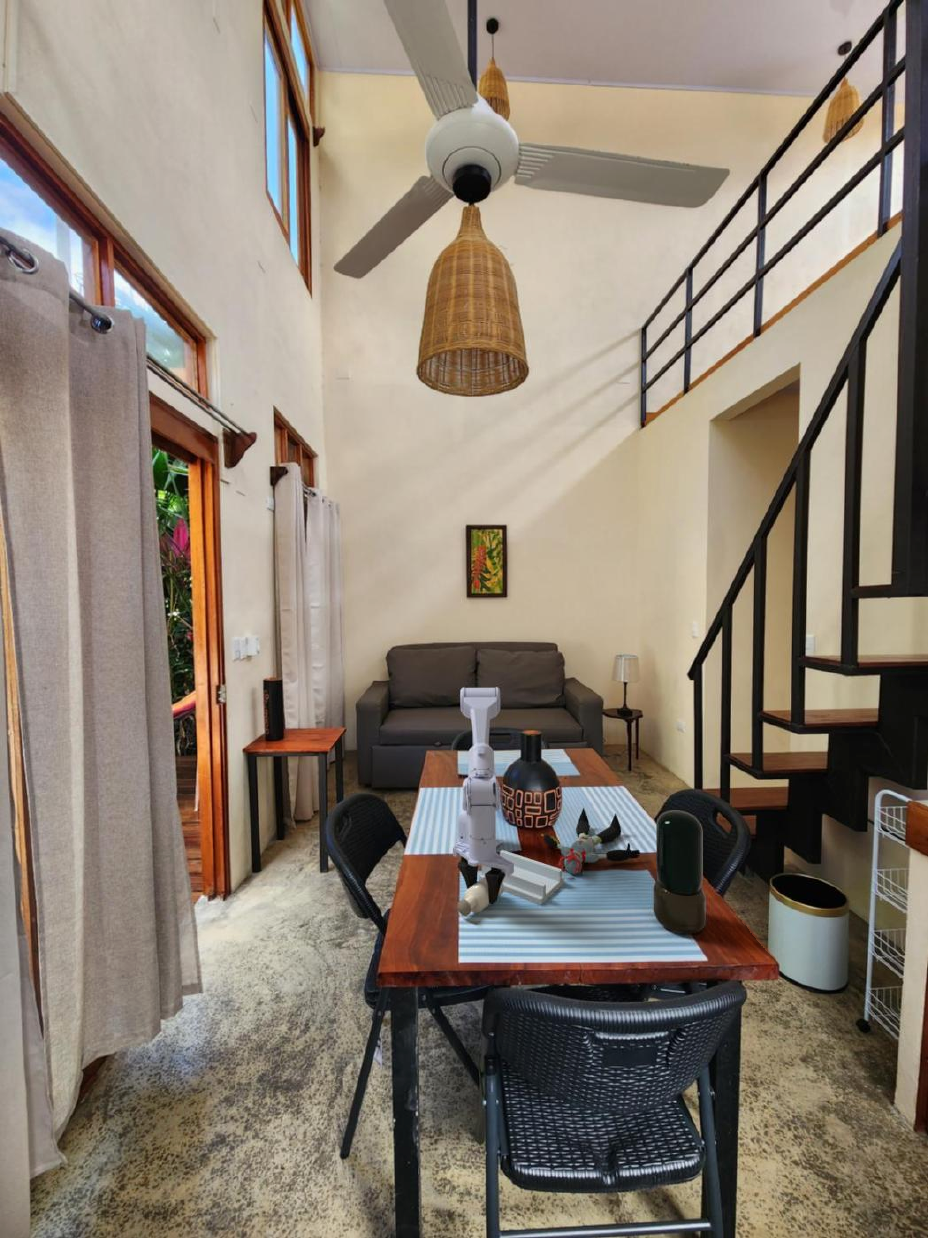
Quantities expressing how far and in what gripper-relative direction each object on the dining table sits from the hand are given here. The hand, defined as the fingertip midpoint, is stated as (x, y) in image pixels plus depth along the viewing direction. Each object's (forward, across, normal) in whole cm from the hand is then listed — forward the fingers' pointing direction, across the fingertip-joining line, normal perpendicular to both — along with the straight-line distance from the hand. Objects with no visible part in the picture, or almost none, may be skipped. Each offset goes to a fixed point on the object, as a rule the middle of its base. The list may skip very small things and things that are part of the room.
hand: (482, 898), depth 109 cm
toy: (+2, +8, +33) cm, 34 cm away
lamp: (+2, +35, +18) cm, 39 cm away
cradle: (+1, +2, +12) cm, 13 cm away
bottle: (+1, 0, -1) cm, 2 cm away
